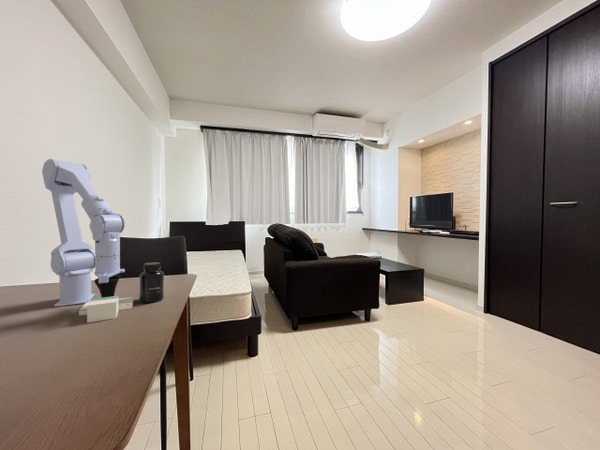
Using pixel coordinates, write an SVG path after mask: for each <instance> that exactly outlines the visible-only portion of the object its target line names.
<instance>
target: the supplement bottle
mask: <svg viewBox="0 0 600 450" xmlns="http://www.w3.org/2000/svg"><path fill="white" fill-rule="evenodd" d="M161 265H162V264H161V262H157V261H156V262H155V261H153V262H145V263H143V271H142V272H141V273H140V274H139V294H138V295H139V296H138V297H139V302H140V303H143V304H150V303H151V304H152V303H153V304H154V303H157V301H158V302H160V301H162V300H163V299H164V294H165V293H164V291H165V287H164V286H165V273H164V271H162V270H161Z"/></svg>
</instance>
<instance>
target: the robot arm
mask: <svg viewBox="0 0 600 450" xmlns="http://www.w3.org/2000/svg"><path fill="white" fill-rule="evenodd" d="M41 174H42V178H43V183H44V186H45V187H44V188H45V189H46V190H49V191H50V192H51V197H52V198H51V199H52V202H53V208H54V211H55V212H54V213H55V217H56V218H55V219H56V223H57V228H58V233H59V238H60V242H61V243H60V244H59V245H58V246H56V247H55V248H54V249H52V251H51V252H50V259H51V260H50V269H51V270H52V272H53V273H54V274H56V276H58V277H59V280H58V281H59V283H58V284H59V300H58V301H57V302H56V303H55V304H54V307H62V306H72V305H79V304H81V305H82V304H85V303H86V302H90V301H91V299H94V296H95V295H96V292H95V293H93V292H92V275H91V272H94V275H95V276H96V277H97V278H95V279H94V281H93V282H94V284H95V286H96V287H97V289H98V290H99V293H100V296H101V297H100V298H104V297H113V296H115V295H116V293H115V292H116V288H117V285H118V284H119V283H118V282H119V280H120V278H121V275H120V274H121V273H125V271H126V270H125V268H121V265H120V264H121V255H120V254H121V244H120V243H121V237H120V236H121V235H120V234H122V233H123V231H124V229H125V227H126V225H125V224H126V223H125V220H124V219H125V218H124V217H123V215H121V214H120V213H117V212H116V211H115V212H114V211H113V209H112V208H111V207H110V205H109V204H108V202H107V201H106V199H105V198H104V196H101V195H99V194H97V192H96V190H95V188H94V187H93V185H92V183H91V181H90V180H91V171H90V169H89V167H88V166H87V165H86V164H82V163H81V164H79V163H72V162H69V161H68V162H67V161H62V160H55V159H53V158H49V159H47V160H46V161H45V162H44V163H43V167H42V170H41ZM76 193H77V194H78V195H79V197H81V198H82V201H81V202H80V203H81V207H82V208H83V210H84V212H85V213H86V215H87V217H88V218H89V219H90V223H89V228H90V231H91V234H92V240H93V241H94V248H93V246H92V245H91V244H89V243H88V242H85V241H84V240H83V237H82V236H83V235H82V231H81V225H80V221H79V217H78V212H77V208H76V207H77V206H76V202H75V201H76V200H75V196H74V195H75V194H76ZM94 269H95V271H93V270H94ZM118 274H119V275H118Z"/></svg>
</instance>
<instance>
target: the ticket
mask: <svg viewBox="0 0 600 450" xmlns="http://www.w3.org/2000/svg"><path fill="white" fill-rule="evenodd" d="M89 302H90V301H89ZM89 302H86V303H83V305H82V307H81V308H80V309H79V311H78V316H85V315H86V316H87V305H88V304H89ZM134 302H135V296H129V297H120V298H119V297H118V305H119V311H123V310H124V311H125V310H130V309H133V306H134Z"/></svg>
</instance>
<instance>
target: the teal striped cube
mask: <svg viewBox="0 0 600 450" xmlns="http://www.w3.org/2000/svg"><path fill="white" fill-rule="evenodd" d="M118 299H119V295H114V296H113V297H104V298H102V297H98V298H92V299H91V300H90V301H89V304H88V305H87V315H86V322H87V323H93V322H100V321H106V320H113V319H117V317H118V314H119V311H120V310H119V305H118Z"/></svg>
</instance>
